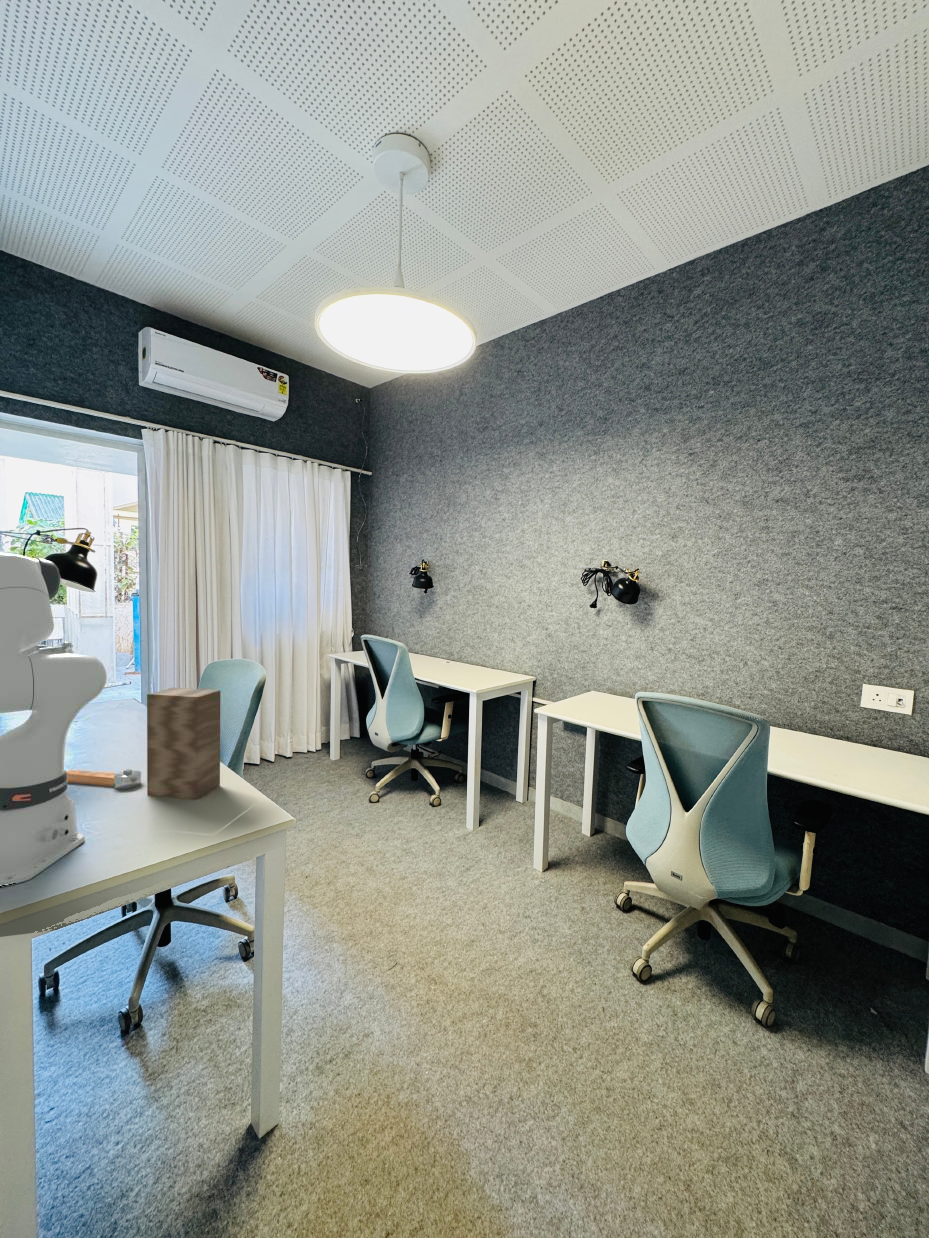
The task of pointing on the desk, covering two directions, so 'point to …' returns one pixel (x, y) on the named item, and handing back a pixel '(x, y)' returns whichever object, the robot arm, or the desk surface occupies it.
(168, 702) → the pedestal
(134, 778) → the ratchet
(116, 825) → the desk surface
